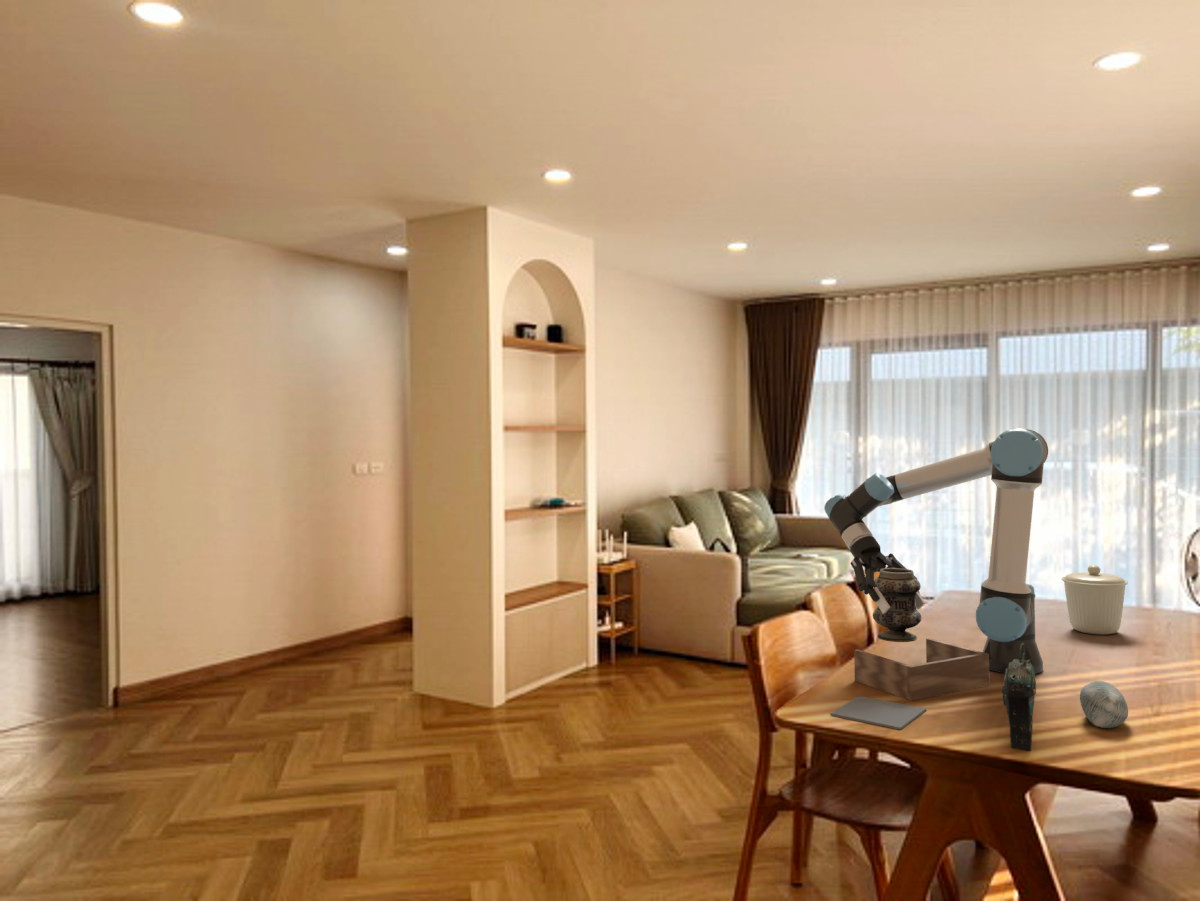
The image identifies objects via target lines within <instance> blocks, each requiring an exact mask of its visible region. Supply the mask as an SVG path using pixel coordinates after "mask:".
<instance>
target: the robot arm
mask: <svg viewBox="0 0 1200 901" xmlns="http://www.w3.org/2000/svg"><path fill="white" fill-rule="evenodd" d="M1048 446H1049V445H1048V443H1047V441H1046V439H1045V438H1044V437H1043V436H1042V435H1041V434H1040V433H1039V432H1037V431H1035V430H1032V429H1028V428H1020V427H1019V428H1011V429H1008V430H1005V431H1003V432H1002V433H1000V434H999V435H998V436H997V437H996V438H995V439H994V441H991V442H987V444H986V446H985V447H983V448H979V449H977V450H973V451H969V452H967V453H964V454H961V455H957V456H953V457H950V458H946V459H944V460H939V461H937V462H933V463H930V464H927V465H923V466H921V467H919V466H918V467H917V468H913V469H911V470H910V469H909V470H907V471H906V470H905V471H903V472H900V473H897V474H894V475H890V476H886V477H885V476H884V475H883V474H881V473H879V472H878V473H877V472H876V473H873V475H871V476H870V477H868V478H866V479H865V481H864V482H862V483H861V484H860V485H859V486H858V487H857V488H856V489H854V490H853V491H852V492H851V493H850V494H848V495H845V494H842V493H841V494H836V495H835V496H833V497H830V498H829V499H828V500H827V501H826V502H825V504H824V512H825V514H826V516H827V517H828V520H829V522H830V523H831V524H832V525H833V527H834V529H835V530H836V531H837V533H838V535H839V536H840V537H841V539H842V540H843V542H844V543H845V545H846V547H847V548H848V549H849V550H850V551H849V552H850V553H851V555H852V556H853V558H852V560H851V562H850V563H849V564H850V566H851V567H852V568H853V572H854V576H855V580H856V584H857V588H858V591H860V592H863V593H864V594H865V595H869V596H870V598H871V599H872V601H873V602H874V603H876V605H877V608H878V607H879V608H880V610H881V612H882V613H883V614H885V613H886V612H887V611H888V610H889V609H890V606H889V604H888V603H887V601H886V600H885V598H884V597H883V595H882V594H881V592H880V590H879V589H878V588H877V587H875V588H874V580H875V573H877V572H878V573H880V569H883V568H901V569H907V568H906V567H905V565H903V563H901V562H900V561H899V560H898V559H897V558H896V557H895V556H894V554H893V553H889V554H888V555H884V553H882V551H881V545H880V544H879V543H878V541H877V539H876V537H874V535H873V533H872V531H871V530H870V528H868V526H867V525H866V523H865V522H864V518H865V517H867V516H868V515H870V513H872V512H873V511H874V510H875V509H877V508H878V507H882V506H885V505H886V506H887V505H890V504H893V503H896V502H899V501H904V500H906V499H909V498H913V497H917V496H921V495H924V494H928V493H932V492H935V491H936V492H937V491H939V490H942V489H946V488H949V487H953V486H956V485H960V484H964V483H967V482H971V481H975V480H979V479H983V478H986V477H989V476H991V477H990V480H991V481H992V482H993V483H994V484H995V486H996V492H995V493H996V494H995V503H994V516H993V525H992V536H991V537H992V538H991V545H990V546H991V547H990V556H989V567H988V578H986V580H984V581H982V582H981V583H980V584H981V585H980V595H979V596H980V597H979V604H978V606H977V608H976V610H975V620H976V621H975V623H976V624H977V627H978V629H979V630H980V632H981V633H983V635H984V636H986V637H987V638H986V640H985V643H984V647H983V649H982V652H984V653H988V654H989V671H992V672H997V673H1003V674H1005V671H1006V668H1007V669H1008V664H1009V663H1010V662H1012V661H1013V660H1014V659H1018V660H1019V646H1020V643H1024V646H1023V647H1022V650H1021V660H1022V655H1023V653H1025V655H1026V657H1025V660H1031V659H1032V661H1031V665H1032V666H1033V668H1034V675H1035V674H1040V673H1042V672H1044V661H1043V658H1042V656H1041V653H1040V650H1039V647H1038V644H1037V642H1036V614H1035V613H1036V610H1035V607H1036V604H1035V601H1036V600H1035V598H1036V593H1035V588H1034V586H1033V585H1032V584H1029V583H1026V581H1027V571H1028V570H1027V569H1028V560H1029V552H1030V551H1029V549H1030V538H1031V530H1032V516H1033V507H1034V497H1035V491H1036V490H1037V489H1038V488H1039V487H1040V486H1041V485H1042V484H1043V483H1042V482H1043V476H1044V475H1043V474H1044V467H1045V466H1044V465H1045V462H1046V461H1047V459H1048V457H1049V456H1048V455H1049V447H1048ZM915 579H917V580H918V578H917V577H916V576H915ZM925 604H926V601H925V599H924V598H923V596H922V595H921V594H920V590H919V591H918V592H916V609H918V610H919V609H922V607H923V606H924V605H925Z"/></svg>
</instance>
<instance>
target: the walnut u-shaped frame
mask: <svg viewBox="0 0 1200 901" xmlns="http://www.w3.org/2000/svg"><path fill="white" fill-rule="evenodd" d="M925 652H926V653H925V654H926V658H925V659H926V662H925V663H918V664H912V665H909V664H906V663H905V662H904V663H903V662H900V661H897V660H894V659H890V658H887V657H884V656H882V655H881V656H880V655H877V654H874V653H871V652H868V651H864V650H861V649H854V650H853V653H854V654H853V655H854V656H853V657H854V659H853V660H854V681H855V682H857V681H858V682H857V683H860V682H861V683H860V684H862V683H863V685H865V684H866V685H865V686H868V687H871V686H872V687H871V688H873V689H876V688H877V689H876V690H879V689H880V691H882V690H883V692H885V693H888V694H890V693H891V695H893V694H894V696H895V697H899V696H900V697H899V698H902V697H903V698H902V699H904V698H905V700H907V699H908V700H907V701H910V702H912V700H913V701H917V700H922V699H928V698H933V696H934V697H937V696H938V695H939V696H943V694H944V695H949V694H953V693H959V692H964V691H968V690H969V691H970V690H972V689H978V688H982V687H988V686H989V687H990V670H989V654H988V653H984V652H983V651H980V650H976V649H971V648H968V647H965V646H961V645H957V644H953V643H949V642H945V641H941V640H937V639H933V638H930V637H928V638H926V639H925ZM939 696H938V697H939Z"/></svg>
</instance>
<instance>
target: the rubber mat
mask: <svg viewBox="0 0 1200 901" xmlns="http://www.w3.org/2000/svg"><path fill="white" fill-rule="evenodd" d="M925 712H927V708H925V707H919V706H915V705H909V704H905V703H904V704H903V703H898V702H892V701H889V700H882V699H876V698H871V697H866V696H861V695H858V696H857V697H854V698H853V699H851V700H850V701H848V702H846V703H845V704H843V705H841V706H839V707H837V709H834V710H833V711H832V712H830V716H831V715H833V716H832V717H836V716H837V718H841V717H842V718H841V719H845V720H846V719H847V720H852V721H856V722H861V723H866V724H870V725H874V726H875V725H877V726H879V727H885V728H888V729H889V728H890V729H895V730H902V729H904V728H906V727H907V726H908V725H909V724H911V723H912V722H914V721H915V720H916V719H917V718H919V717H920V716H921V715H923V714H924V713H925Z"/></svg>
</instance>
